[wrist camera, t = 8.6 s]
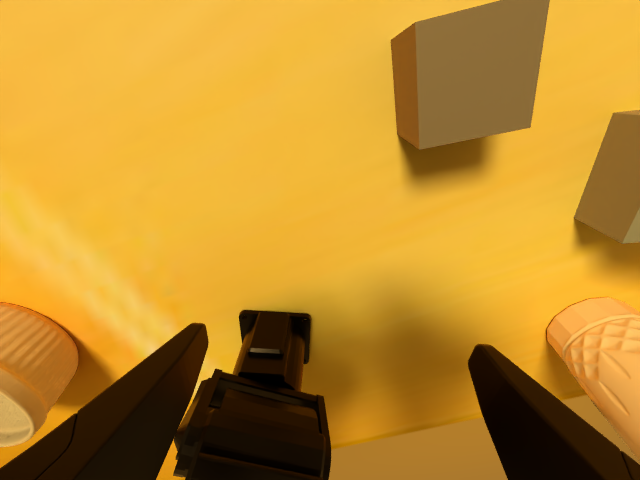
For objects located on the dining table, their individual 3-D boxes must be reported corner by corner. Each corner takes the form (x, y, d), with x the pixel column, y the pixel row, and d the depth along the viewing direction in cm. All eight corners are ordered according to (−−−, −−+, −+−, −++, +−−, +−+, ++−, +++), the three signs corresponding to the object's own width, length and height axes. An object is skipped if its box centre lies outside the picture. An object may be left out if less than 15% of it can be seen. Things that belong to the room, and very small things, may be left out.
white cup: (629, 342, 26) (782, 472, 17) (539, 361, 28) (636, 488, 19) (642, 279, 22) (841, 402, 14) (537, 305, 24) (655, 429, 15)
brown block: (478, 116, 17) (530, 127, 13) (397, 133, 18) (419, 149, 13) (485, 16, 15) (551, -13, 10) (390, 40, 15) (415, 22, 11)
